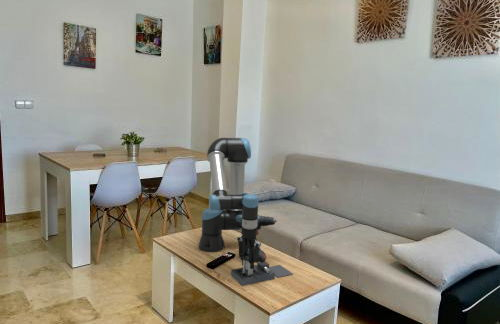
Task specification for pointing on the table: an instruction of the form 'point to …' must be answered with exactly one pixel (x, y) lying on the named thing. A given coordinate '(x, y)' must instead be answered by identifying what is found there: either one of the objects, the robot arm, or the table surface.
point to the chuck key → (246, 264)
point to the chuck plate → (254, 274)
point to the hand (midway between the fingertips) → (247, 273)
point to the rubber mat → (280, 271)
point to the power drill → (261, 222)
